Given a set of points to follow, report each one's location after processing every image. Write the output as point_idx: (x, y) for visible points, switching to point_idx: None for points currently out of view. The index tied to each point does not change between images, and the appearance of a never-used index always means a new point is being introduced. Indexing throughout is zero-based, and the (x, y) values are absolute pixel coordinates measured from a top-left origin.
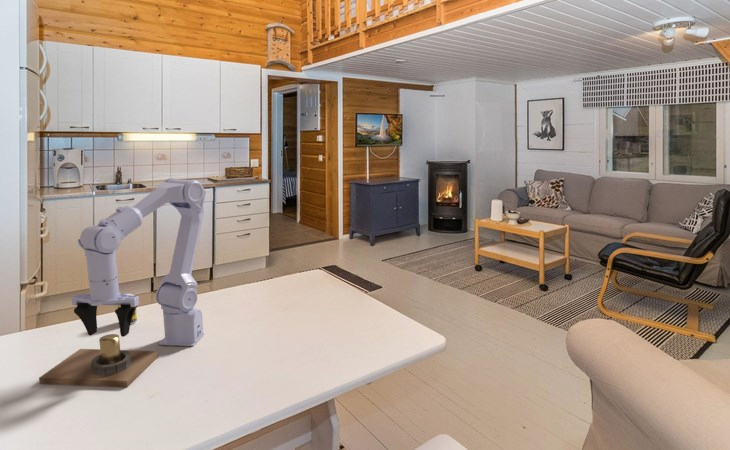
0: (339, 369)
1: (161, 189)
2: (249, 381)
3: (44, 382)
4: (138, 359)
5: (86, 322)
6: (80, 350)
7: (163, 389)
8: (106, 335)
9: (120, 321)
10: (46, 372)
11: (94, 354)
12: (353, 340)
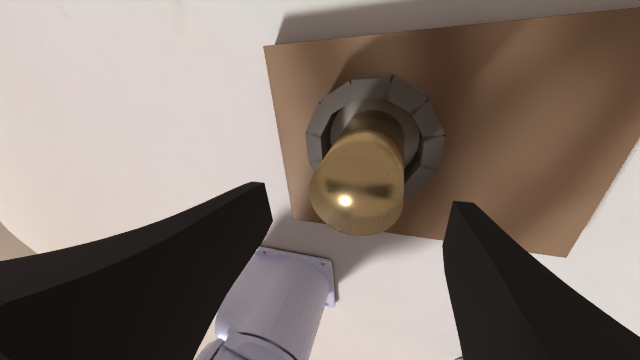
0: (12, 157)
1: None
2: (70, 110)
3: None
4: None
5: (512, 278)
6: (559, 246)
7: (179, 50)
8: (384, 224)
9: (163, 231)
10: None
11: None
12: (66, 235)
